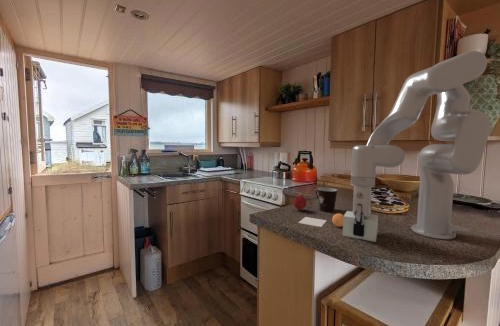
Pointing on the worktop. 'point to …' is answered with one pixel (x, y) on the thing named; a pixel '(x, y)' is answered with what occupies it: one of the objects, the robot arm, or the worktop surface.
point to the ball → (338, 220)
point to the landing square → (313, 221)
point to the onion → (299, 202)
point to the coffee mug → (327, 199)
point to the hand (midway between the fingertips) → (359, 231)
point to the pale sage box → (369, 224)
